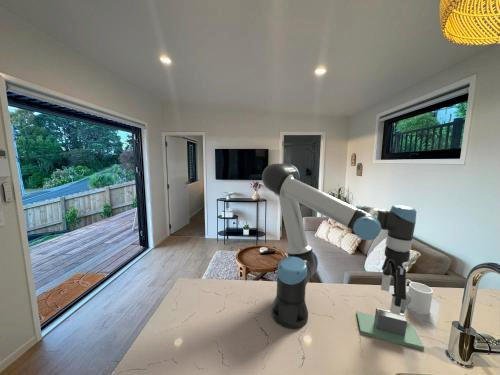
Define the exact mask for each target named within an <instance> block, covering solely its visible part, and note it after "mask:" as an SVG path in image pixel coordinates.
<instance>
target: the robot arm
mask: <svg viewBox="0 0 500 375" xmlns="http://www.w3.org/2000/svg"><path fill="white" fill-rule="evenodd" d="M261 181H262V183H263V185H264V187H266V189H268V190H269V191H271V192H272V193H274V195H275V196H276V197H278V201H279V205H280V210H281V215H282V219H283V223H284V229H285V234H286V237H287V243H288V248H287V250H286V253H287V256H286V257H283V258H282V259H281V260H280V261H279V262H278V265H277V270H276V274H277V278H276V280H277V281H276V295H275V297H274V301H273V303H272V306H271V317H272V319H273V320H274V321H275V322H276V323H277V324H278V325H280V326H281V327H284V328H286V329H300V328H302V327H304V326H305V325H307V323H308V320H309V311H308V306H307V303H306V288H307V284H308V282H309V281H310V280H311V278H312V277H313V275H314V274H315V273H316V272H317V269H318V265H319V260H318V256H317V254H316V253H315V251H313V246H312V245H310V244H309V243H308V239H307V235H306V230H305V226H304V220H303V217H302V216H303V215H302V212H301V208H300V204H301V205H303V206H305V207H307V208H309V209H311V210H313V211H315V212H317V213H319V214H320V215H323V216H325V217H326V218H329V219H330V220H333V221H334V222H336V223H338V224H341V225H342V226H343V227H346V228H347V229H349V230H351V231H352V232H354V233H355V235H356V236H357V237H358V238H359V239H361V240H364V241H373V240H375V239H376V238H378V236H379V235H380V233H381V231H382V230H384V231H387V234H386V241H385V247H384V256H385V259H384V262H383V265H382V267H381V270H382V278H381V284H380V290H381V291H385V292H390V287H391V281H392V282H393V293H392V294H391V297H392V298H391V305H390V312H392V313H396V314H400V310H401V304H402V299H403V300H406V289H407V285H406V276H407V275H406V274H407V269H406V268H404V263H407V262H409V261H410V257H411V250H412V249H411V248H412V245H413V244H414V241H413V238H414V233H415V232H414V231H415V228H416V221H417V210H416V209H415V208H414V207H411V206H406V205H398V204H394V205H392V206H391V208H390V209H383V208H376V207H372V206H371V207H370V206H366V205H362V206H361V205H356V206H354V205H352V204H349V203H347V202H345V201H342V200H341V199H339V198H337V197H335V196H332V195H330V194H328V193H327V192H324V191H322V190H320V189H318V188H315V187H313V186H311V185H308V184H307V183H304V182H303V181H301V180H300V172H299V170H298V168H297V167H296V165H293V164H292V163H287V162H284V163H271V164H269V165H267V166H266V167H265V168H264V170H263V171H262V175H261ZM391 279H392V280H391Z"/></svg>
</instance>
